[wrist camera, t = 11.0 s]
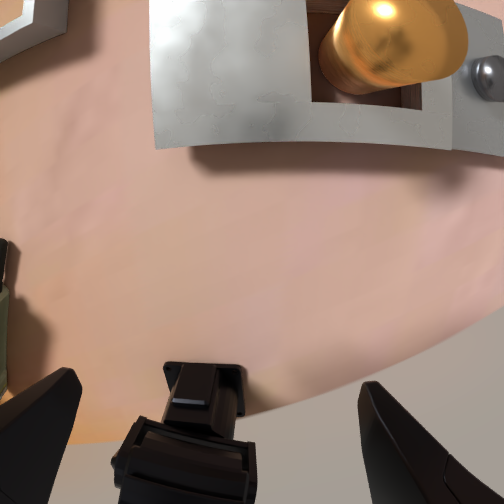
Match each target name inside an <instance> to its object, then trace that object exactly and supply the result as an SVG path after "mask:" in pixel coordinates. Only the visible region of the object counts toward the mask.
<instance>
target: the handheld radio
mask: <svg viewBox="0 0 504 504" xmlns="http://www.w3.org/2000/svg"><path fill="white" fill-rule="evenodd" d="M7 246H8V242H7V241H6V240H5V239H2V238H0V400H1V398H2V396H3V395H4V393H5V392H6V390H7V369H6V344H7V319H8V305H9V290H8V288H7V287H6V286H4V285H3V282H2V279H3V275H4V267H5V259H6V252H7Z"/></svg>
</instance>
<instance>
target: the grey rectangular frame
mask: <svg viewBox="0 0 504 504" xmlns="http://www.w3.org/2000/svg"><path fill="white" fill-rule="evenodd" d="M68 4H69V0H24V5H23V14H22V16H20V17H18V18H16V19H15V20H13V21H11V22H9V23H8V24H6V25H4V26H3V27H1V28H0V63H1V62H3V61H5V60H7V59H8V58H10V57H12V56H14V55H16V54H18V53H20V52H22V51H24V50H26V49H28V48H31V47H33V46H35V45H37V44H39V43H42V42H44V41H46V40H48V39H51V38H53V37H56V36H58V35H60V34H63V33H66V32H67V17H68Z"/></svg>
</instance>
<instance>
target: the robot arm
mask: <svg viewBox="0 0 504 504" xmlns="http://www.w3.org/2000/svg"><path fill="white" fill-rule="evenodd" d="M169 367H170V368H169ZM163 370H164V373H165V377H166V380H167V383H168V387H169V390H170V396H169V399H168V402H167V405H166V408H165V411H164V414H163V417H162V420H161V423H160V422H156V421H153V420H150V419H147V417H144V416H139V418H138V420H137V421H136V423H135V422H134V424H133V425H132V427H131V429H130V431H129V433H128V435H127V436H126V438H125V440H124V442H123V444H122V446H121V447H120V449H119V450H118V451H117V452H116V454H115V455H114V456H113V457H112V459H111V465H112V467H113V469H114V476H115V477H114V484H115V487H116V488H119V489H121V490H120V496H119V501H118V504H254V503H255V498H256V492H257V464H256V449H255V443H254V442H242V441H236V440H233V437H234V428H235V421H236V417H243V416H244V415H245V403H244V392H243V381H242V370H241V367H240V366H238V365H226V364H200V363H182V362H165V364H164V366H163ZM233 370H236V371H233ZM81 395H82V385H81V383H80V381H79V379H78V377H77V375H76V373H75V371H74V370H73V369H71V368H66V367H62V368H60V369H58V370H57V371H55V372H53V373H52V374H50V375H48V376H47V377H45V378H44V379H42V380H40V381H39V382H37V383H36V384H34V385H32V386H31V387H29V388H28V389H26V390H24V391H23V392H21V393H19V394H18V395H16V396H15V397H13V398H11V399H10V400H8V401H7V402H5V403H3V404H2V405H0V504H48V501H49V497H50V494H51V491H52V487H53V484H54V481H55V477H56V475H57V472H58V469H59V465H60V463H61V460H62V457H63V454H64V451H65V448H66V445H67V442H68V440H69V437H70V434H71V431H72V428H73V425H74V421H75V417H76V413H77V409H78V406H79V402H80V398H81ZM358 415H359V425H360V434H361V446H362V453H363V458H364V464H365V468H366V473H367V478H368V483H369V488H370V493H371V498H372V503H373V504H504V498H502V497H501V496H500V495H498V494H497V493H496V492H494V491H493V490H492V489H490V488H489V487H488V486H487V485H485V484H484V483H482V482H481V481H480V480H479V479H477V478H476V477H475V476H474V475H473V474H471V473H470V472H469V471H468V470H467V469H466V468H465V467H464V466H462V465H461V464H460V463H459V462H458V461H457V460H456V459H455V458H454V457H453V456H452V455H451V454H449V452H448V451H447V450H446V449H445V448H444V447H443V446H442V445H441V444H440V443H439V442H438V441H437V440H436V439H435V438H434V437H433V436H432V435H431V434H430V433H429V432H428V431H427V430H426V429H425V428H424V427H423V426H422V425H421V424H420V423H419V422H418V421H417V420H416V419H415V418H414V417H413V416H412V415H411V414H410V413H409V412H408V411H407V410H406V409H405V408H404V407H403V406H402V405H401V404H400V403H399V402H398V401H397V400H396V399H395V398H394V397H393V396H392V395H391V394H390V393H389V392H388V391H387V390H386V389H385V388H384V387H383V386H382V385H381V384H380V383H379V382H377V381H367V382H364V383H363V384H362V387H361V391H360V394H359V398H358Z"/></svg>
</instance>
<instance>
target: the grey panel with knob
mask: <svg viewBox="0 0 504 504" xmlns="http://www.w3.org/2000/svg"><path fill="white" fill-rule="evenodd" d="M349 1H350V0H150V70H151V92H152V110H153V124H154V137H155V149H156V150H157V149H166V148H176V147H187V146H199V145H212V144H228V143H249V142H288V141H317V142H355V143H375V144H391V145H404V146H415V147H426V148H435V149H444V150H452V149H457V150H464V151H471V152H477V153H484V154H490V155H496V156H501V157H504V34H503V27H502V21H501V20H500V19H498V18H495V17H493V16H491V15H488V14H486V13H483V12H480V11H478V10H475V9H472V8H470V7H467V6H464V5H461V4H458V3H455V4H456V5H457V7H458V8H459V10H460V12H461V14H462V16H463V18H464V21H465V24H466V27H467V32H468V41H469V42H468V51H467V55H466V58H465V60H464V62H463V64H462V66H461V67H460V68H459V69H458V70H457V71H456V72H455V73H454V74H452V75H450V76H449V77H446V78H443V79H439V80H434V81H427V82H422V83H416V84H410V85H405V86H401V108H397V107H388V106H377V105H364V104H348V103H325V102H312V99H311V75H310V56H309V40H308V26H307V13H306V12H308V13H328V14H341V13H342V11H343V10H344V9H345V7H346V6H347V4H348V3H349Z"/></svg>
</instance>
